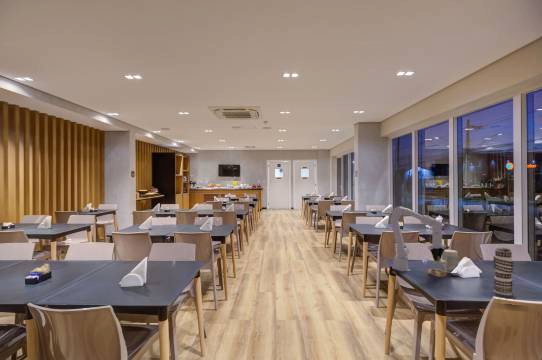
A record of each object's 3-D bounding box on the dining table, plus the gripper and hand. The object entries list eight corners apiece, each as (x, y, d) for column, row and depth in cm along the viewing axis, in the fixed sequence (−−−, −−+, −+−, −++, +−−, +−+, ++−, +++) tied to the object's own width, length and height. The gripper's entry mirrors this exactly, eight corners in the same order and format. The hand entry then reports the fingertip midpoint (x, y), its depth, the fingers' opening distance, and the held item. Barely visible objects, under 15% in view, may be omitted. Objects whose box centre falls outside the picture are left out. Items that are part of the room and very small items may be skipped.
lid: (427, 261, 219) (427, 255, 219) (434, 260, 222) (434, 254, 222) (439, 264, 210) (439, 258, 211) (447, 263, 213) (447, 257, 214)
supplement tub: (460, 273, 222) (460, 251, 223) (453, 275, 217) (453, 252, 217) (446, 269, 231) (446, 248, 231) (439, 271, 225) (439, 250, 226)
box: (427, 274, 219) (427, 269, 219) (434, 273, 222) (434, 268, 222) (439, 277, 211) (439, 273, 211) (446, 276, 214) (446, 271, 214)
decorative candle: (490, 289, 189) (490, 245, 189) (509, 291, 186) (509, 246, 186) (496, 294, 180) (496, 248, 180) (516, 296, 177) (516, 250, 178)
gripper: (435, 240, 210) (434, 261, 210) (450, 239, 216) (449, 259, 216) (425, 238, 216) (425, 259, 216) (440, 237, 222) (440, 257, 222)
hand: (437, 259), depth 216 cm, fingers closed on lid, 3 cm apart
